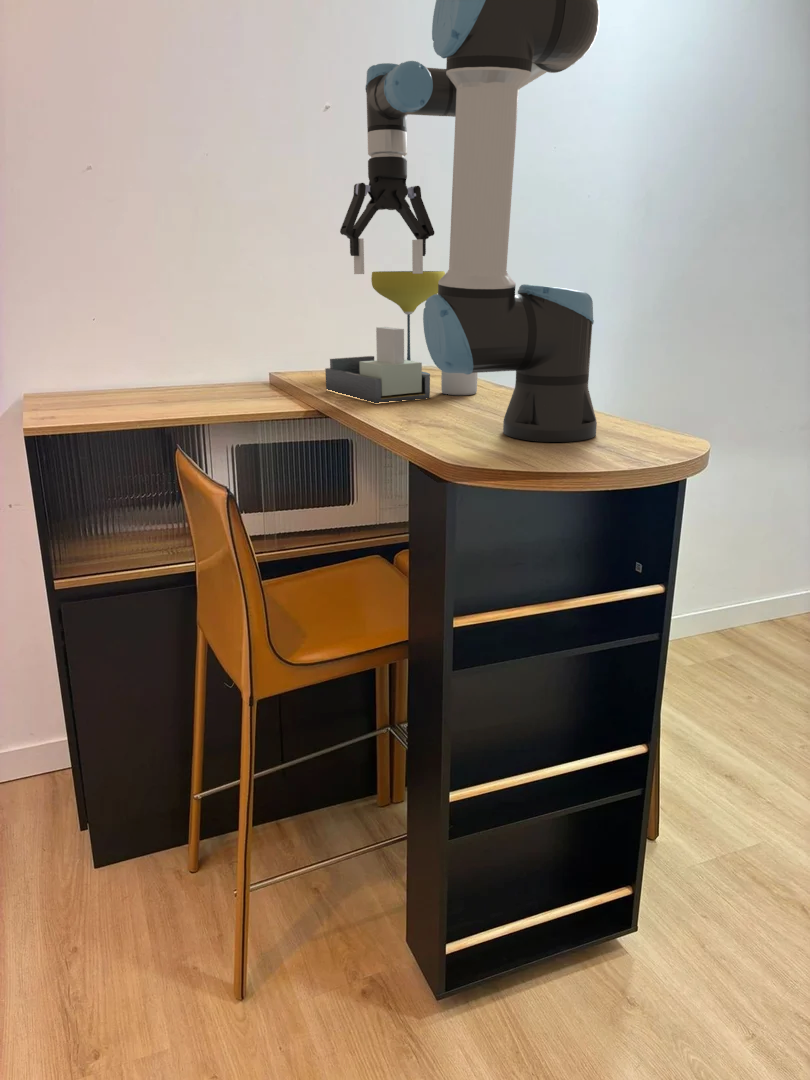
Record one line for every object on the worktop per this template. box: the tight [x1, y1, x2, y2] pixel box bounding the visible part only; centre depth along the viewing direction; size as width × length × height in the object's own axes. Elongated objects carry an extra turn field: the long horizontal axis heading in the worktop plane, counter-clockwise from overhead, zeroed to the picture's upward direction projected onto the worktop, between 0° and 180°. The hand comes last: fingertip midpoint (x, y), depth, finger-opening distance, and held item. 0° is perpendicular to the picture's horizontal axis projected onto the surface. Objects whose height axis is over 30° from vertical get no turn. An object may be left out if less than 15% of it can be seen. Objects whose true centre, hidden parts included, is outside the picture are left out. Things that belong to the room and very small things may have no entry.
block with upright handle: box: [359, 326, 423, 396], centre depth 169 cm, size 9×10×13 cm
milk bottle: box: [440, 370, 478, 396], centre depth 175 cm, size 8×8×20 cm
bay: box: [324, 355, 431, 403], centre depth 176 cm, size 22×13×7 cm, turn 32°
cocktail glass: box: [370, 270, 446, 376], centre depth 204 cm, size 18×18×25 cm
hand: (389, 274), depth 164 cm, fingers open, 13 cm apart
